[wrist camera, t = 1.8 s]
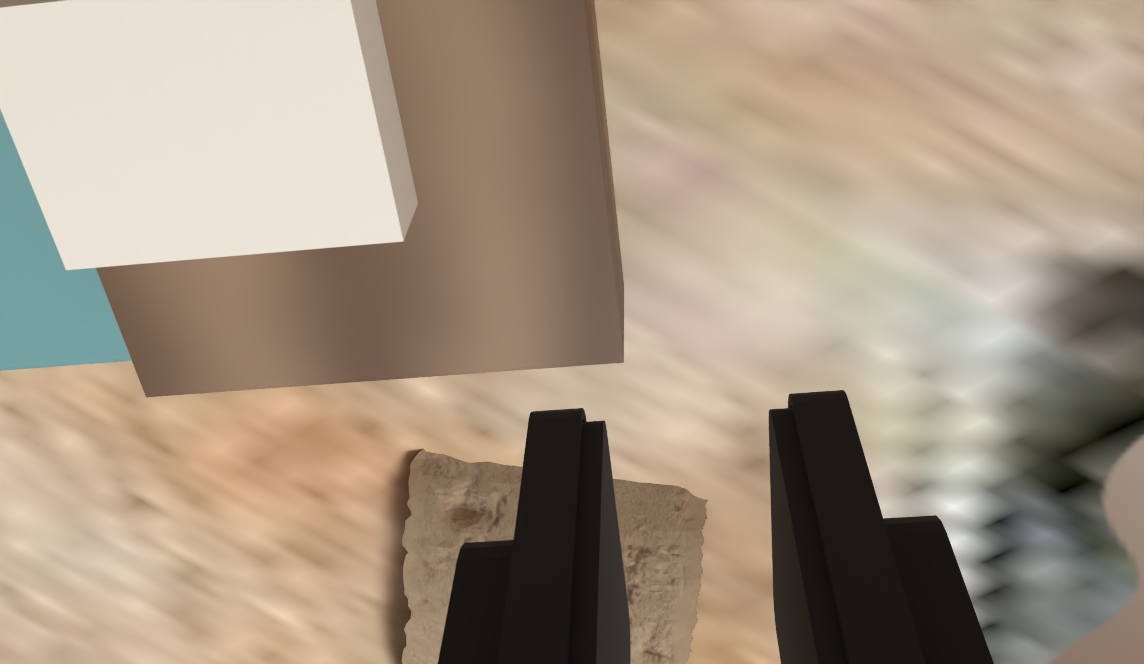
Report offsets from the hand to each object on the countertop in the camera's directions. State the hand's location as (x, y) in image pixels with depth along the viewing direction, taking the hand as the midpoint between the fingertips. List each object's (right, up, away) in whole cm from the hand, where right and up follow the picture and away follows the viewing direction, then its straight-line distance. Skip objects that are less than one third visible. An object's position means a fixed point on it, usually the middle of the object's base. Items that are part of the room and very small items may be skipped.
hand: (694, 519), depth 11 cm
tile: (-9, +7, +14) cm, 18 cm away
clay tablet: (-2, -8, +28) cm, 29 cm away
